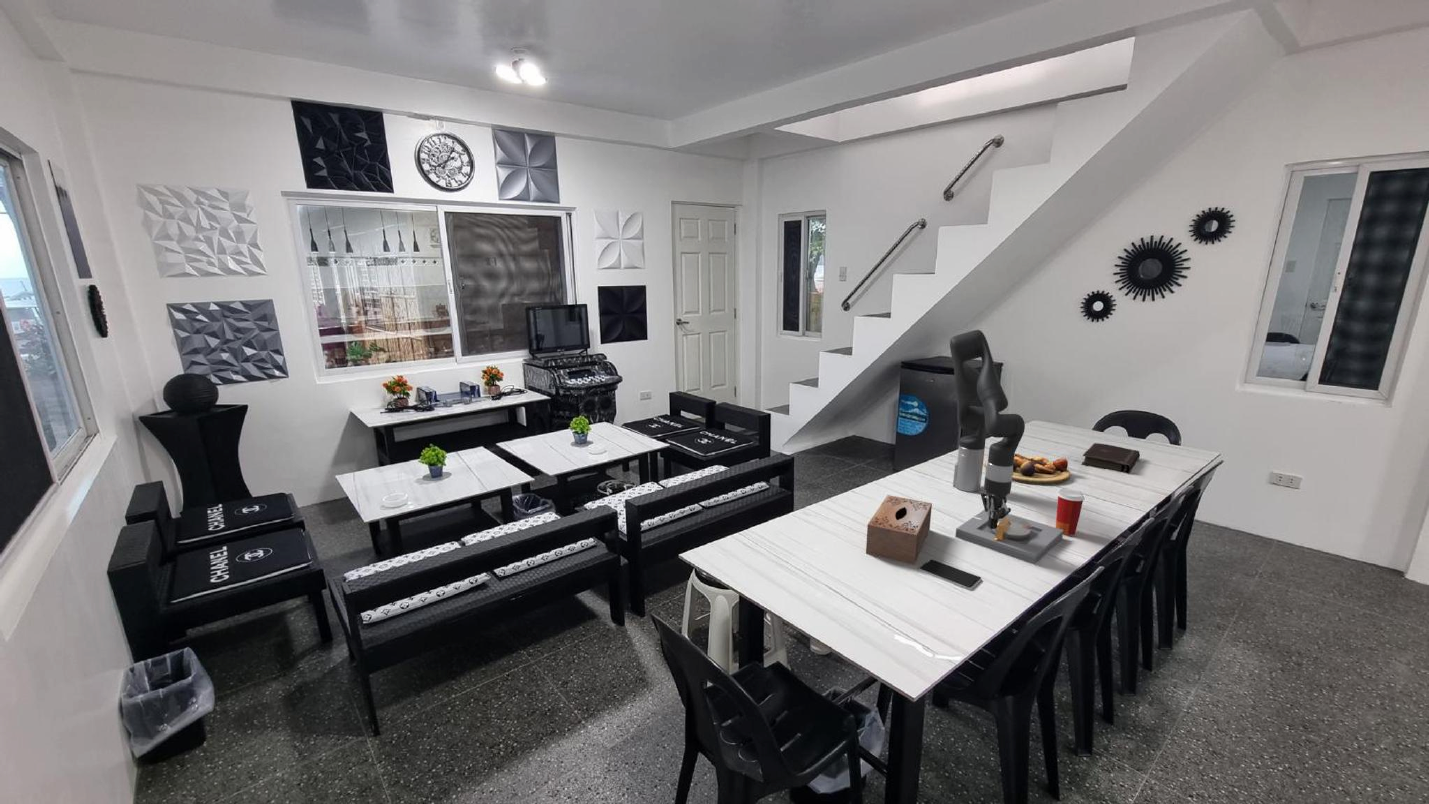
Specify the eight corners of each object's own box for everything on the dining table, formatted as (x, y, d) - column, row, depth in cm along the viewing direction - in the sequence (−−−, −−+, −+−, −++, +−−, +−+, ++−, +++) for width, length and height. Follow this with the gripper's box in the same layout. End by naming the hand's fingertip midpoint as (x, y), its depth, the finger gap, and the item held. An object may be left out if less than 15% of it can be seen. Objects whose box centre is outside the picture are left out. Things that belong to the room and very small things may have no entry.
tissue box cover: (914, 565, 168) (916, 535, 166) (865, 554, 175) (867, 524, 173) (929, 530, 190) (931, 503, 188) (885, 521, 197) (887, 495, 195)
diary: (1138, 461, 255) (1141, 450, 254) (1129, 476, 238) (1132, 464, 236) (1090, 451, 268) (1092, 441, 266) (1078, 465, 250) (1080, 454, 249)
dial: (995, 520, 192) (997, 503, 190) (1034, 530, 184) (1037, 513, 182) (978, 537, 180) (980, 520, 178) (1019, 550, 172) (1021, 531, 170)
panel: (955, 536, 185) (956, 527, 184) (986, 515, 201) (987, 506, 200) (1034, 564, 168) (1035, 554, 167) (1062, 538, 183) (1063, 529, 182)
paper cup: (1075, 528, 190) (1081, 489, 187) (1081, 538, 183) (1088, 498, 180) (1049, 525, 193) (1054, 486, 189) (1054, 535, 186) (1060, 495, 182)
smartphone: (931, 558, 171) (982, 577, 160) (930, 562, 171) (981, 580, 160) (918, 568, 165) (970, 588, 155) (918, 572, 165) (969, 592, 155)
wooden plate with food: (1071, 467, 247) (1073, 449, 245) (1069, 491, 220) (1071, 471, 219) (990, 456, 264) (991, 439, 262) (979, 477, 237) (981, 458, 236)
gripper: (1023, 484, 169) (1016, 537, 173) (997, 468, 181) (991, 517, 186) (999, 485, 168) (992, 538, 172) (975, 469, 181) (969, 519, 185)
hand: (992, 527), depth 179 cm, fingers closed
